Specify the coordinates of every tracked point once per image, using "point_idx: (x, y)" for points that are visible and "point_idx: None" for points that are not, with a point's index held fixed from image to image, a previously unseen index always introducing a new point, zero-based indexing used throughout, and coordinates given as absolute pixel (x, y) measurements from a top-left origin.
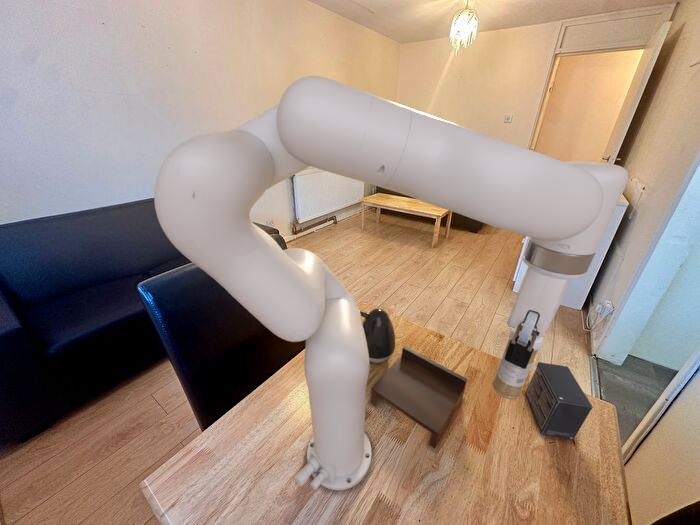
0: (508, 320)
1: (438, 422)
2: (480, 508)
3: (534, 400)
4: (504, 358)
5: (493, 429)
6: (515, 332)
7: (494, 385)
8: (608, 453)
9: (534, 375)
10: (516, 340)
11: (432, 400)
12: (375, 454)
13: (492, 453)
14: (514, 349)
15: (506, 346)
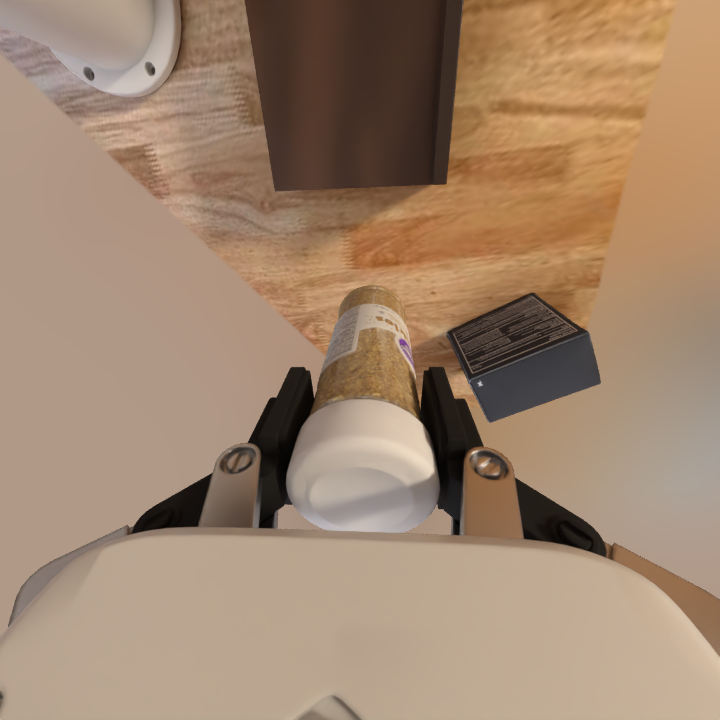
0: (19, 615)
1: (296, 176)
2: (270, 290)
3: (505, 318)
4: (291, 368)
5: (406, 266)
6: (203, 516)
7: (351, 295)
8: (470, 402)
9: (559, 318)
10: (136, 527)
11: (339, 127)
12: (181, 83)
13: (359, 278)
14: (252, 440)
15: (351, 365)
